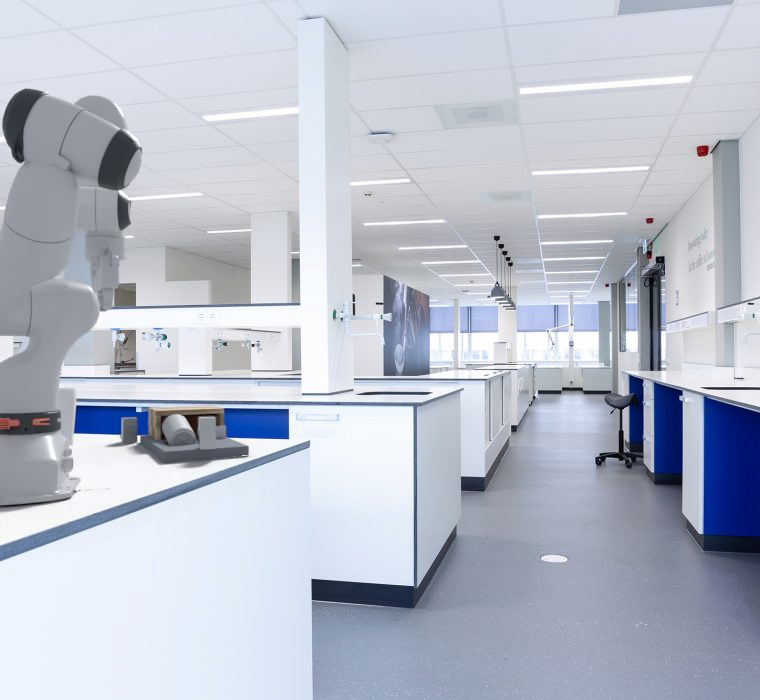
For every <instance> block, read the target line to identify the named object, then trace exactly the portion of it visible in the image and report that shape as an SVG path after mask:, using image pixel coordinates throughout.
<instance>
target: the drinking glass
mask: <svg viewBox="0 0 760 700" xmlns="http://www.w3.org/2000/svg"><path fill="white" fill-rule="evenodd" d="M76 409H77V388H76V387H59V396H58V410H60V411H61V417H62V421H61V429H60V432H61V434H62V435H63V436H64V437H66V439H68V440H69V447H70V446H73V445H74V433H75V423H76V411H77V410H76Z"/></svg>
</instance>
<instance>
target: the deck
mask: <svg viewBox="0 0 760 700" xmlns="http://www.w3.org/2000/svg"><path fill="white" fill-rule="evenodd" d="M195 436H196V443H195V444H183V445H169V444H168V442H167V439H166V437H165V435H164V434H162V435H161V440H156V439H154V438H153V437H151V436H149V435H148V434H141V435H140V437H139V438H140V441H139V442H141V443H140V444H142V445H143V446H144V448H146V449H147V448H148V449H147V450H149V451H150V452H151V453H152V454H153V455H155V457H157V458H158V459H159V460H161V461H162V463H164V464H169V463H182V462H195V461H205V460H206V459H208V460H214V459H213V458H220V459H224V458H223V457H231V458H234V457H233V456H242V455H249V456H250V450H249V449H250V446H249V445H246V444H244V443H242V442H239V441H237V440H235V439H233V438H230V437H227V436H226V438H216V449H204V450H200V449H199V440H198V439H197V435H195ZM206 461H207V460H206Z"/></svg>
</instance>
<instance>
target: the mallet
mask: <svg viewBox="0 0 760 700" xmlns="http://www.w3.org/2000/svg"><path fill="white" fill-rule="evenodd" d="M120 419H121V425H120V426H121V427H120V428H121V429H120V431H121V434H120V435H119V437H120V436H121V437H120V438H121V443H122V444H123V443H124V444H133V443H134V444H136V443H135V442H137V443H138V417H135V416H133V417H132V416H131V417H127V416H126V417H121V418H120Z"/></svg>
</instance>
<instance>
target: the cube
mask: <svg viewBox="0 0 760 700" xmlns="http://www.w3.org/2000/svg"><path fill="white" fill-rule="evenodd" d="M199 417H214V415H209V414H197V415H188V423H189V425H190V426H191V428H192V430H193V432H194V434H195V435H197V427H199Z"/></svg>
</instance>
